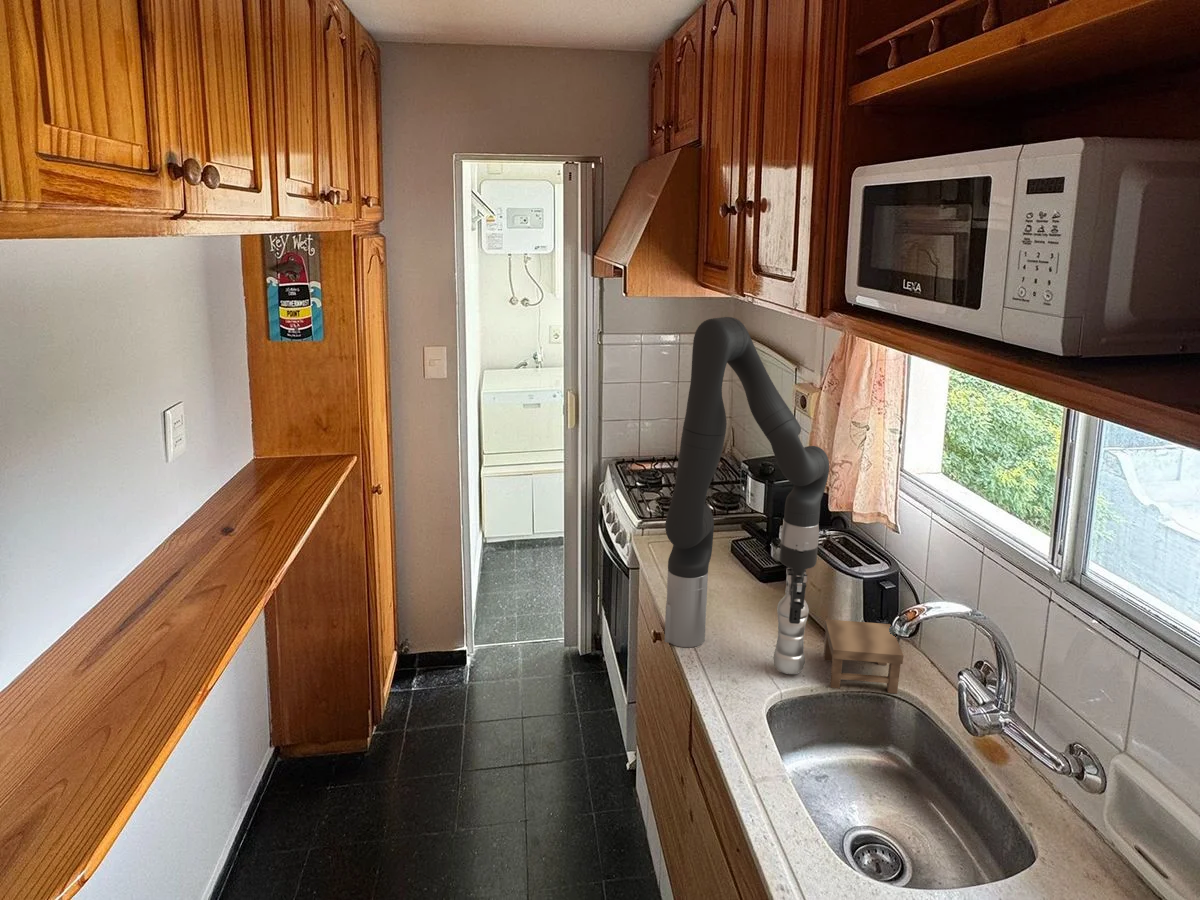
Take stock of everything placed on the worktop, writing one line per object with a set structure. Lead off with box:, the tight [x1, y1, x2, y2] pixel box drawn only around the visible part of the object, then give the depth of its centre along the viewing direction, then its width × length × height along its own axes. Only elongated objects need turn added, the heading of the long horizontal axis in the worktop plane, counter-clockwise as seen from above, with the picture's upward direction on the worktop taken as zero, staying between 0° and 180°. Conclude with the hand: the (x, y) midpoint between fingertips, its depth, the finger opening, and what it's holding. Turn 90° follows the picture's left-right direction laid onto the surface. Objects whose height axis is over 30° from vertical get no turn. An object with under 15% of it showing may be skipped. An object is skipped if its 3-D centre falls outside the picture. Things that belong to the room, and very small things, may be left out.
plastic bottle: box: [772, 583, 810, 675], centre depth 177 cm, size 6×7×20 cm
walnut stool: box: [823, 618, 904, 694], centre depth 178 cm, size 14×14×9 cm
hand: (793, 615), depth 176 cm, fingers closed on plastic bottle, 6 cm apart
